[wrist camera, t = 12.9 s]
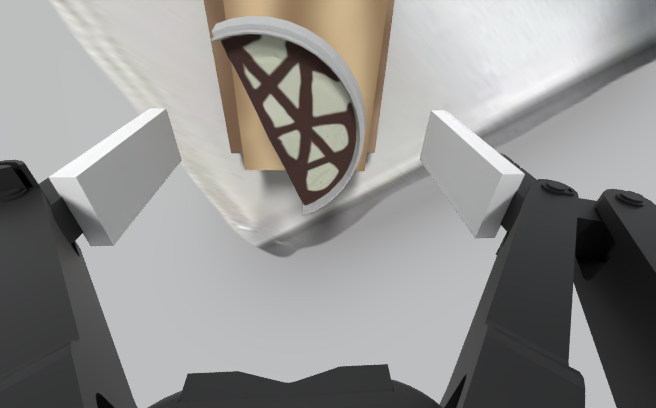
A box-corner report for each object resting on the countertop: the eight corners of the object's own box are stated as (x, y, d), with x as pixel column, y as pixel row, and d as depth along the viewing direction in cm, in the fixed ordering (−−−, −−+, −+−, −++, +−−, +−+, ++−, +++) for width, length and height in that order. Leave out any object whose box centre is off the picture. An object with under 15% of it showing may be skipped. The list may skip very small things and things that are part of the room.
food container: (366, 136, 27) (392, 194, 19) (306, 158, 28) (306, 221, 20) (321, -18, 20) (330, -31, 12) (243, 17, 21) (204, 26, 13)
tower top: (380, -25, 24) (392, -29, 20) (358, 154, 33) (364, 171, 29) (230, -35, 23) (217, -42, 19) (251, 152, 32) (244, 169, 28)
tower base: (386, -24, 27) (397, -27, 24) (368, 139, 36) (374, 152, 33) (211, -31, 26) (197, -36, 22) (238, 139, 35) (231, 153, 32)
